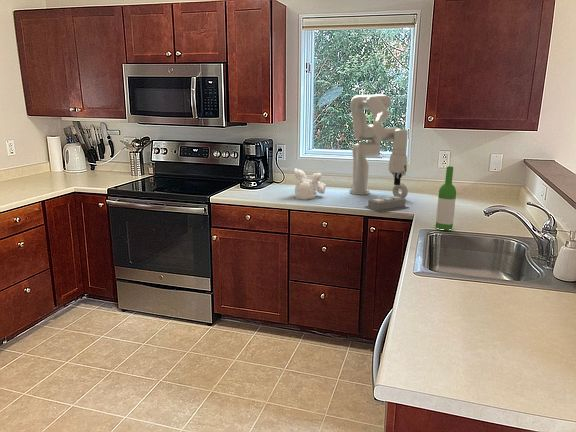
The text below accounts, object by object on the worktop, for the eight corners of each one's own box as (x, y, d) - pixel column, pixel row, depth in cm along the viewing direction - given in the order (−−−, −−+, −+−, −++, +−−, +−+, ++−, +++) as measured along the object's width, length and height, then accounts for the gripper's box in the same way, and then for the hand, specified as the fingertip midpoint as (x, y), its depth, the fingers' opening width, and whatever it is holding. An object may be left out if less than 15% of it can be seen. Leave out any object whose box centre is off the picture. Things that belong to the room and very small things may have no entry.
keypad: (364, 207, 270) (364, 199, 269) (391, 202, 281) (391, 195, 280) (381, 212, 259) (382, 204, 258) (408, 208, 270) (409, 200, 268)
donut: (408, 200, 287) (409, 184, 285) (404, 201, 285) (406, 184, 283) (394, 197, 295) (395, 181, 292) (390, 198, 292) (392, 182, 290)
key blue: (381, 203, 270) (381, 198, 269) (386, 202, 272) (387, 197, 272) (386, 205, 266) (387, 199, 266) (392, 204, 269) (393, 198, 268)
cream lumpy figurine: (287, 185, 281) (296, 162, 293) (290, 209, 295) (298, 186, 308) (319, 189, 276) (326, 166, 289) (320, 213, 291) (327, 190, 303)
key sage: (389, 202, 273) (389, 196, 273) (395, 201, 276) (395, 196, 275) (395, 203, 270) (395, 198, 269) (401, 202, 272) (401, 197, 271)
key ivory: (372, 204, 267) (372, 199, 266) (378, 203, 269) (378, 198, 268) (377, 206, 263) (378, 201, 262) (384, 205, 265) (384, 200, 265)
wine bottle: (433, 226, 234) (439, 165, 227) (450, 227, 234) (456, 165, 226) (436, 231, 227) (443, 167, 219) (453, 232, 226) (460, 168, 218)
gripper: (384, 150, 269) (382, 183, 274) (404, 153, 257) (401, 187, 262) (394, 150, 273) (392, 182, 278) (414, 153, 261) (411, 186, 266)
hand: (396, 184), depth 270 cm, fingers closed
